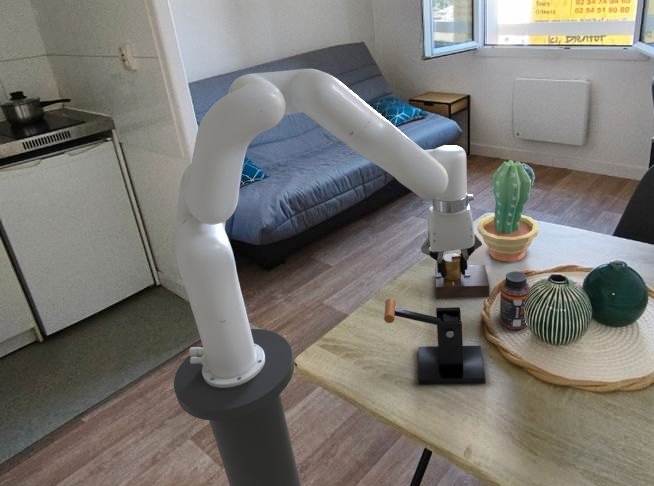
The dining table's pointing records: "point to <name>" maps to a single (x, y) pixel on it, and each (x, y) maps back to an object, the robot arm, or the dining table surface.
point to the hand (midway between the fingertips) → (452, 272)
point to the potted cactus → (509, 213)
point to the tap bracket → (450, 355)
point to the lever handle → (412, 315)
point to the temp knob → (452, 266)
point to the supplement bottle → (513, 300)
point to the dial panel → (464, 284)
